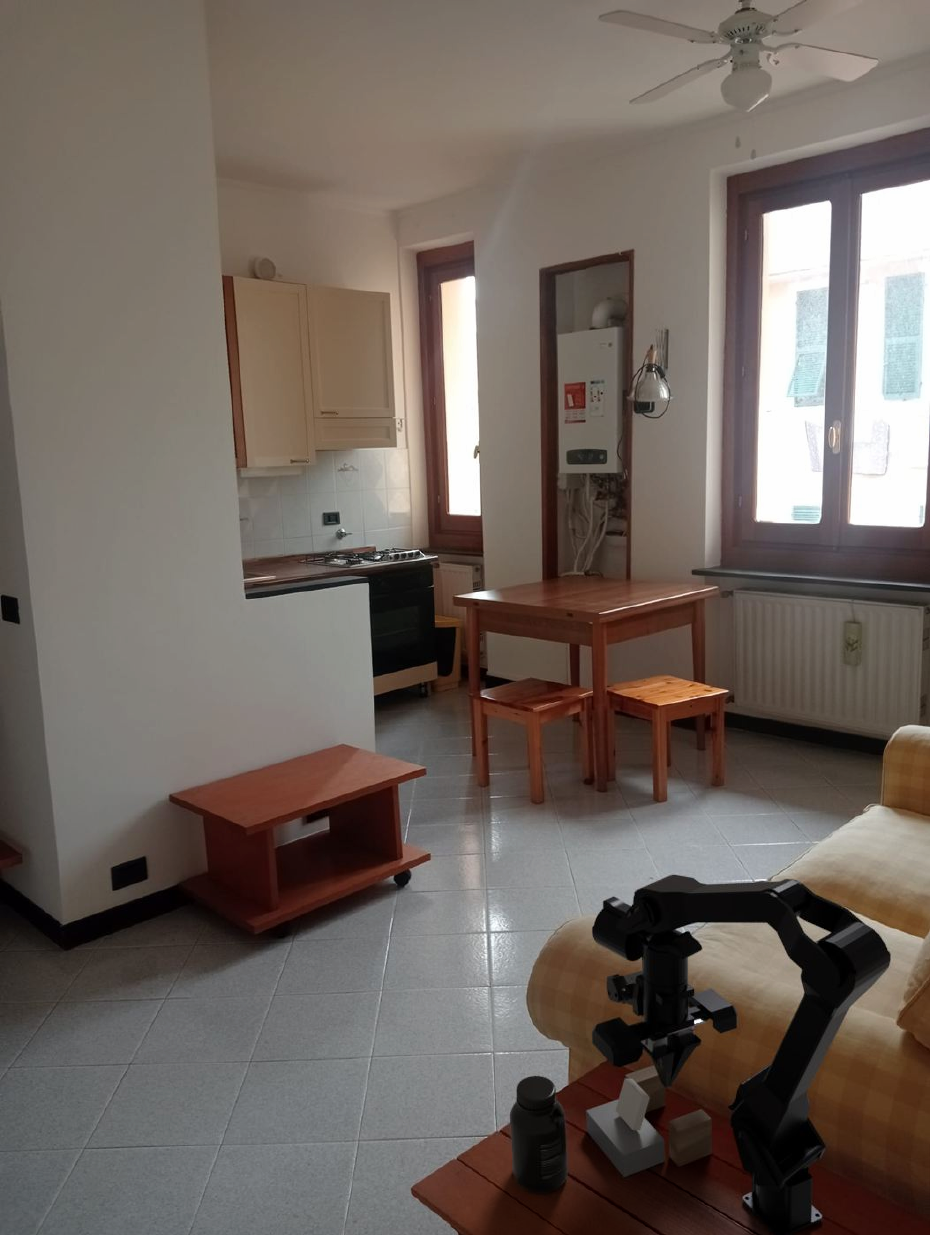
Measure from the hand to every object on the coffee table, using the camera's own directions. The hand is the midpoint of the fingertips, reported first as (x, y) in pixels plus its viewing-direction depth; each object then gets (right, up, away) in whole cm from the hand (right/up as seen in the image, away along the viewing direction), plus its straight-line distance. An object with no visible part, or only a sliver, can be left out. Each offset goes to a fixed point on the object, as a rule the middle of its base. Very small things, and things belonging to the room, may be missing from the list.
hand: (666, 1085), depth 123 cm
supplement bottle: (-17, -9, -5) cm, 20 cm away
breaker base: (-6, -7, -1) cm, 9 cm away
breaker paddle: (-5, -4, -2) cm, 7 cm away
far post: (-2, -6, +6) cm, 8 cm away
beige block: (+2, -7, -3) cm, 8 cm away
